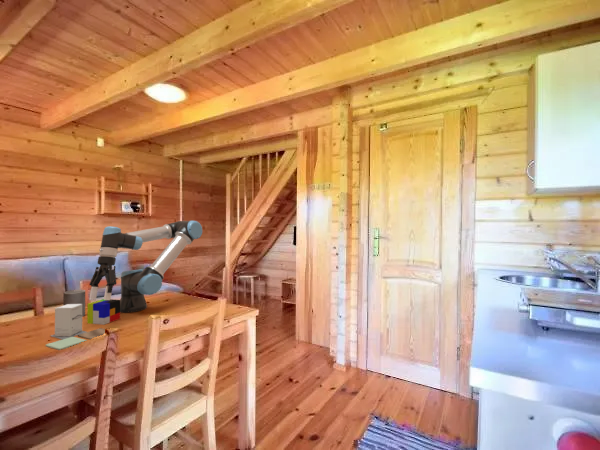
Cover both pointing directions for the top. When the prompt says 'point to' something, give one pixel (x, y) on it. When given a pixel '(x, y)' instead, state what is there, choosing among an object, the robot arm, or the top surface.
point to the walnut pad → (92, 333)
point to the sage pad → (65, 343)
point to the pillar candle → (75, 298)
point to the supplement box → (68, 319)
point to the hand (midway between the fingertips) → (99, 300)
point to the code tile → (68, 336)
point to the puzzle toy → (103, 311)
